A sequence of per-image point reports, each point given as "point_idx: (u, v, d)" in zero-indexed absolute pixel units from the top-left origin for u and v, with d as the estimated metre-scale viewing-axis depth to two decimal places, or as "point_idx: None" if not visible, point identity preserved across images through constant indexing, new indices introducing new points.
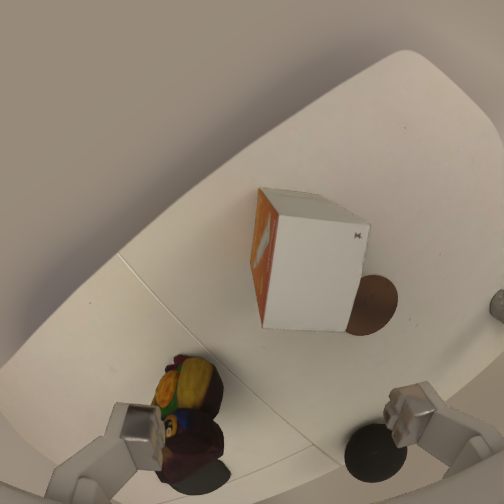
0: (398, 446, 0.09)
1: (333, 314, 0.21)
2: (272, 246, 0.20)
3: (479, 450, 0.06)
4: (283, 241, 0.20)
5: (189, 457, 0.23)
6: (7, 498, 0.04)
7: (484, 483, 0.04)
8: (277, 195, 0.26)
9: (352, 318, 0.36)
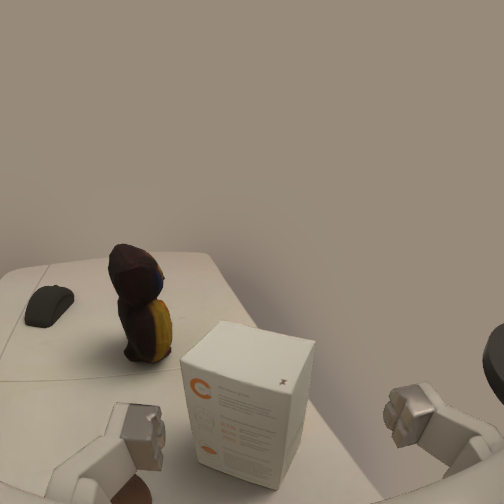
0: (398, 446, 0.09)
1: (207, 354, 0.21)
2: None
3: (479, 450, 0.06)
4: (293, 339, 0.23)
5: (139, 255, 0.34)
6: (7, 498, 0.04)
7: (484, 483, 0.04)
8: (303, 417, 0.25)
9: None
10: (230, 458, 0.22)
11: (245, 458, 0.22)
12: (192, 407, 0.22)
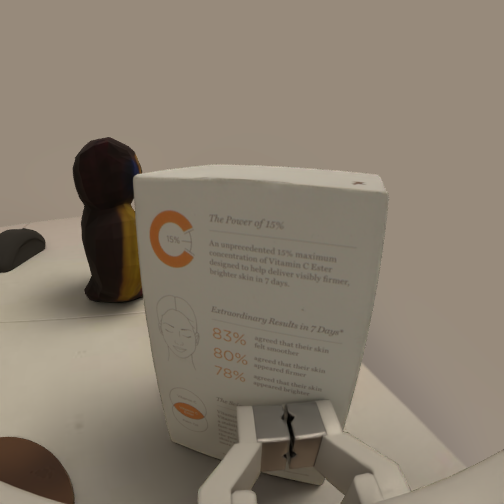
0: (289, 467, 0.09)
1: (188, 171, 0.11)
2: None
3: (364, 492, 0.06)
4: None
5: None
6: (7, 498, 0.04)
7: (484, 483, 0.04)
8: None
9: (10, 458, 0.10)
10: (232, 424, 0.12)
11: None
12: (153, 302, 0.11)
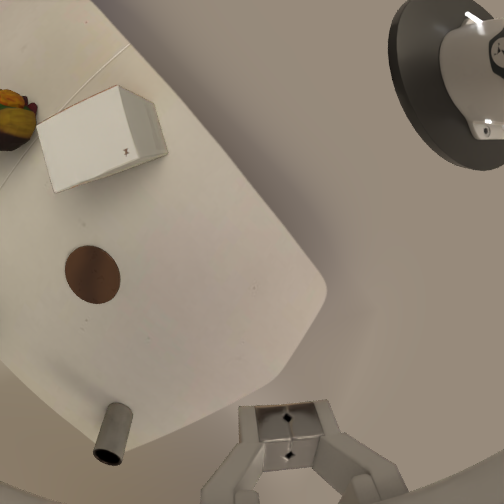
0: (287, 467, 0.09)
1: (63, 172, 0.22)
2: (94, 95, 0.20)
3: (361, 492, 0.06)
4: (100, 98, 0.20)
5: None
6: (7, 498, 0.04)
7: (484, 483, 0.04)
8: (146, 106, 0.27)
9: (79, 262, 0.37)
10: (125, 169, 0.31)
11: (135, 165, 0.30)
12: None
